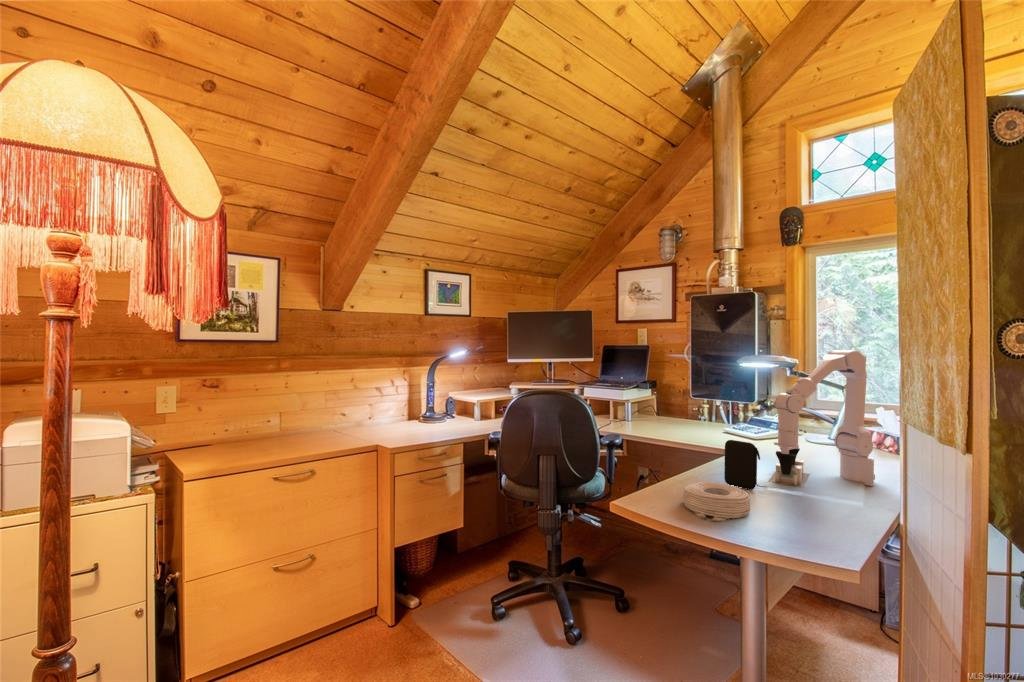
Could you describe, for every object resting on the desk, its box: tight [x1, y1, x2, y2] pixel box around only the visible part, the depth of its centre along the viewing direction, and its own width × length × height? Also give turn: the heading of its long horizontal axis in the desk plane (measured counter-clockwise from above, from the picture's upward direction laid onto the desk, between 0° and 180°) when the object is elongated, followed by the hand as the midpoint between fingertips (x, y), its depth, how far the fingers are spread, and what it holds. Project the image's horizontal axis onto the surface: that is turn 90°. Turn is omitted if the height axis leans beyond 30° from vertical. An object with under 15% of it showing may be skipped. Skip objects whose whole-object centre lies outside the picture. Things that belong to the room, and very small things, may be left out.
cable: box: [681, 481, 751, 522], centre depth 133 cm, size 18×18×6 cm
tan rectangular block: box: [778, 458, 805, 477], centre depth 165 cm, size 7×4×5 cm, turn 53°
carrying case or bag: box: [723, 439, 761, 491], centre depth 152 cm, size 11×3×15 cm, turn 44°
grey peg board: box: [767, 470, 811, 488], centre depth 161 cm, size 10×19×4 cm, turn 143°
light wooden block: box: [775, 462, 802, 485], centre depth 157 cm, size 7×4×5 cm, turn 54°
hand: (787, 472), depth 157 cm, fingers open, 7 cm apart
